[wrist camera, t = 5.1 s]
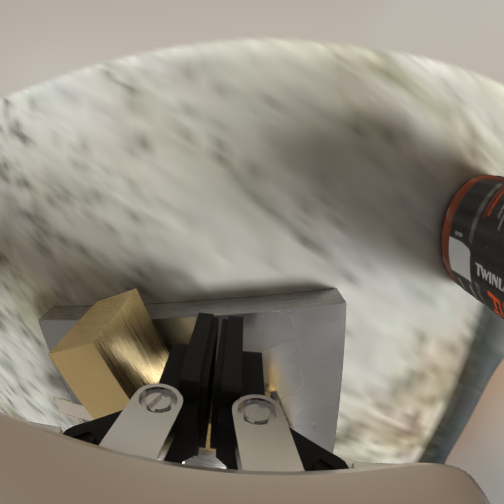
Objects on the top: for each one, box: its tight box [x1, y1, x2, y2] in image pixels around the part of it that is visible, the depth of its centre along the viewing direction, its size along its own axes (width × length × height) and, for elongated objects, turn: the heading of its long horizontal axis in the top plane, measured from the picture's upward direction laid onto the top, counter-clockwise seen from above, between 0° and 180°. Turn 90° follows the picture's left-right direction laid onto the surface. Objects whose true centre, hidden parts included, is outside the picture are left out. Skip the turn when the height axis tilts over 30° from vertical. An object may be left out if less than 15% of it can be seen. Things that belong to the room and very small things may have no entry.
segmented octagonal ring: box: [49, 289, 289, 452], centre depth 11 cm, size 13×9×4 cm
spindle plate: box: [39, 289, 346, 469], centre depth 13 cm, size 14×16×5 cm
